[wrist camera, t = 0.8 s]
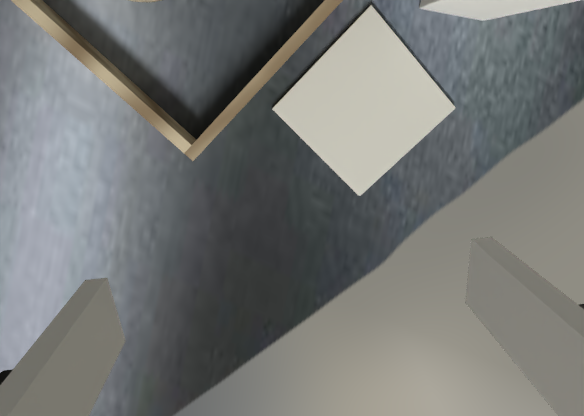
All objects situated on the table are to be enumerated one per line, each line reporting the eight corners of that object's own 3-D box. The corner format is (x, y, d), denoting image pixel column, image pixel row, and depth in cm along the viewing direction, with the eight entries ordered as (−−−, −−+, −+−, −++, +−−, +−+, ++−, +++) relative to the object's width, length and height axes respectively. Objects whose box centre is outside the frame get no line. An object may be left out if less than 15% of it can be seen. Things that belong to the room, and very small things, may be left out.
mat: (272, 108, 36) (272, 108, 36) (370, 5, 33) (371, 5, 33) (358, 195, 39) (359, 196, 39) (453, 107, 37) (455, 107, 36)
